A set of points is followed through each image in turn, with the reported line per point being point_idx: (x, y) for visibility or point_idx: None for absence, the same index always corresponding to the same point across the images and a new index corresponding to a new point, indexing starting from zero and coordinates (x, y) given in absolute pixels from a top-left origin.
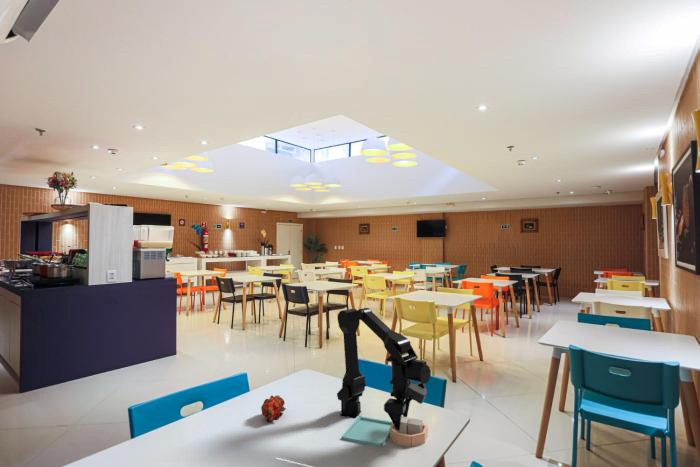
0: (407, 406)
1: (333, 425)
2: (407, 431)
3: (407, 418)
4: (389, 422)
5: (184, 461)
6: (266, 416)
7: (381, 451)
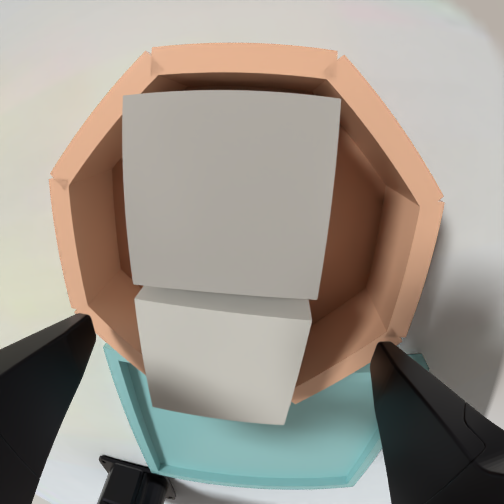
0: (11, 384)
1: (245, 501)
2: None
3: (165, 322)
4: (125, 379)
5: None
6: None
7: (446, 347)
